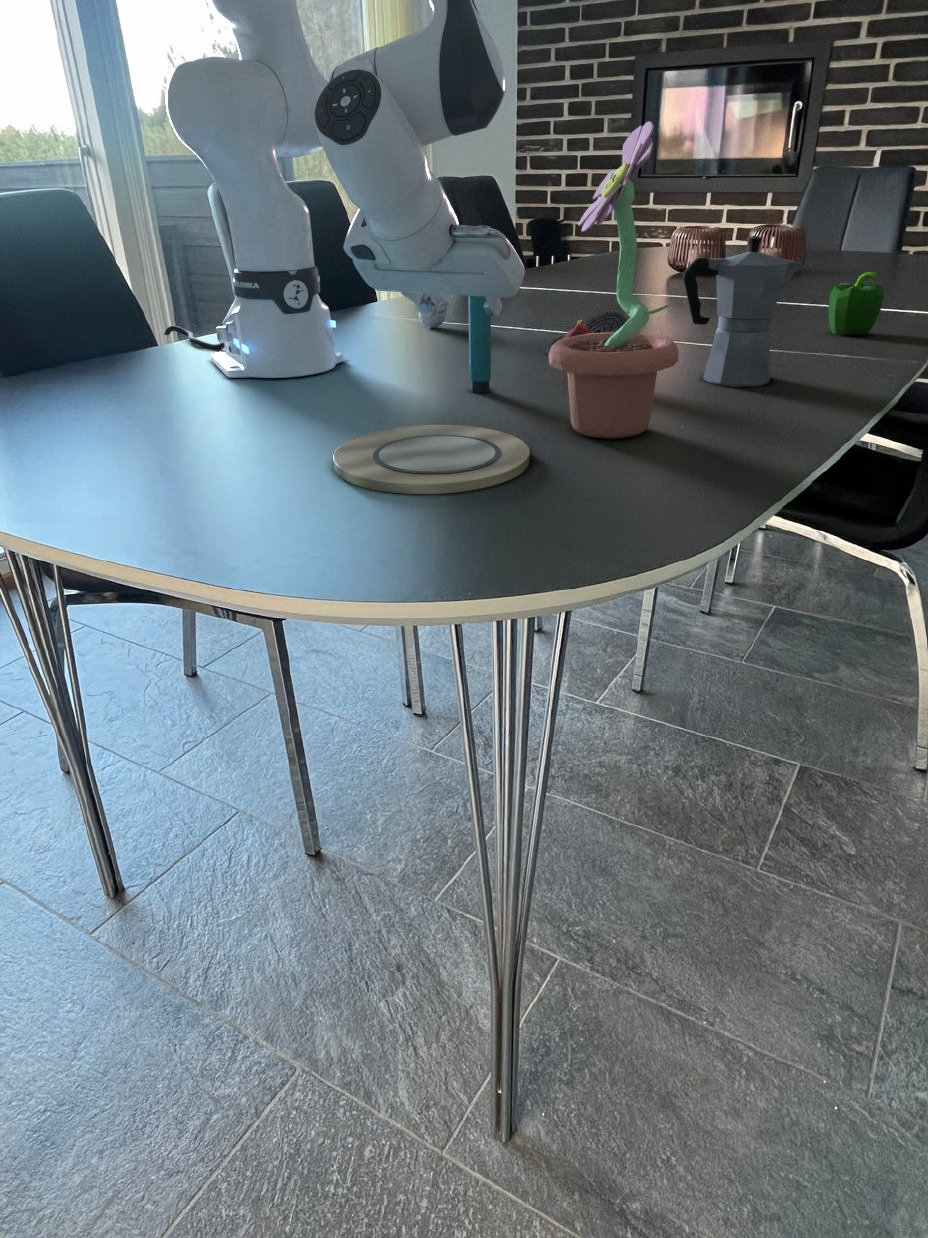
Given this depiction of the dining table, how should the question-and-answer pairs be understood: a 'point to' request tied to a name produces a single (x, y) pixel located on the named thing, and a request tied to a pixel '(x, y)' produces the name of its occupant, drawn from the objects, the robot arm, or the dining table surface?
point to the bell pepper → (855, 306)
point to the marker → (479, 345)
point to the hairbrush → (599, 325)
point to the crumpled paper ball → (434, 312)
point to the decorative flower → (623, 360)
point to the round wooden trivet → (431, 459)
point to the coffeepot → (740, 312)
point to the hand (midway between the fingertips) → (461, 308)
